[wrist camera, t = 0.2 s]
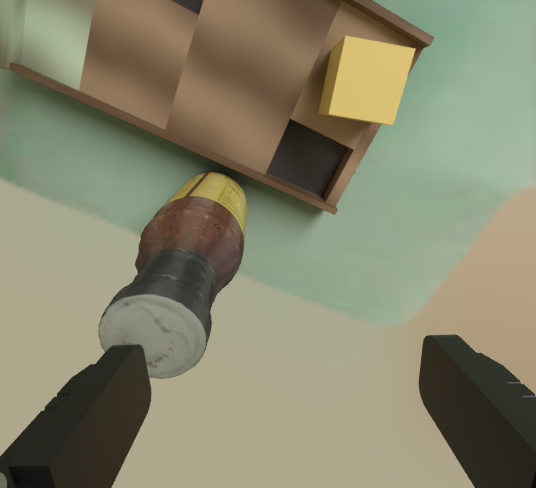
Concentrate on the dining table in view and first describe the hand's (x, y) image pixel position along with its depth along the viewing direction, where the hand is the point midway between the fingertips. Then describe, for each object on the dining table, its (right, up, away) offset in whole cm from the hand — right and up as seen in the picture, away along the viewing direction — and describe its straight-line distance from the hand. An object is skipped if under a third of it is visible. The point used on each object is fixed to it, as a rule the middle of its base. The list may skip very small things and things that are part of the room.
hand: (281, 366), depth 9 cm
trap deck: (-4, +19, +16) cm, 25 cm away
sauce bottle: (-5, +8, +21) cm, 23 cm away
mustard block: (+6, +16, +15) cm, 23 cm away
